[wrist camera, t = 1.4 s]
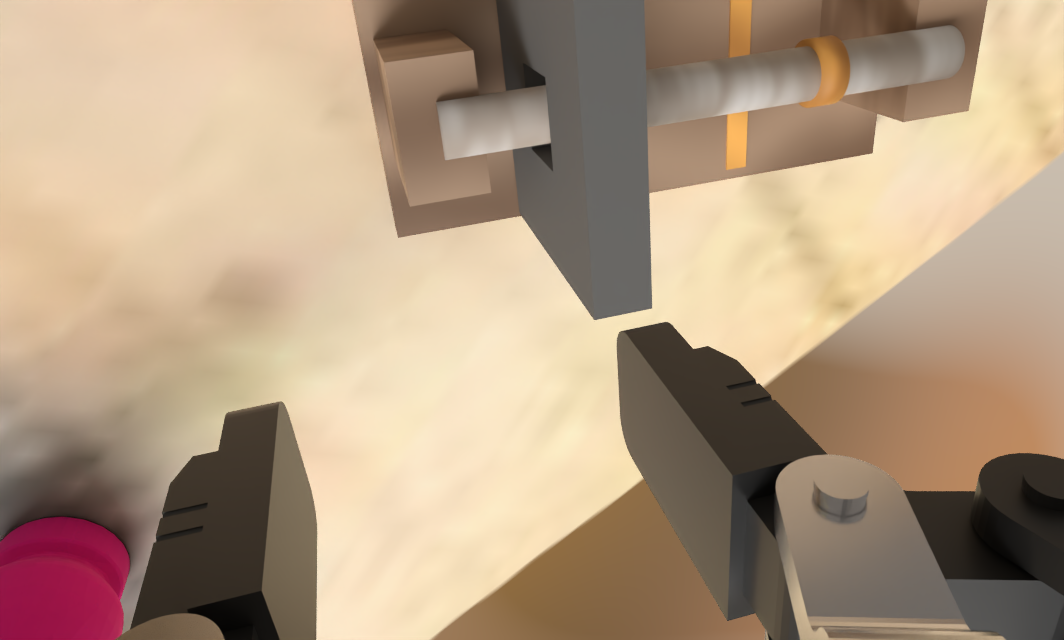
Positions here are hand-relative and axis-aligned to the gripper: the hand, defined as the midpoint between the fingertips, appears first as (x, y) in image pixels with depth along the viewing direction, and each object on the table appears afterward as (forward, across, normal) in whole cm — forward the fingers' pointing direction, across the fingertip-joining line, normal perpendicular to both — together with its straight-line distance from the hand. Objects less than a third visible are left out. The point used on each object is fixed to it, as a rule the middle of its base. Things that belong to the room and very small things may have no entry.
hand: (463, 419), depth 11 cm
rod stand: (+25, -12, 0) cm, 28 cm away
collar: (+23, -7, 0) cm, 24 cm away
